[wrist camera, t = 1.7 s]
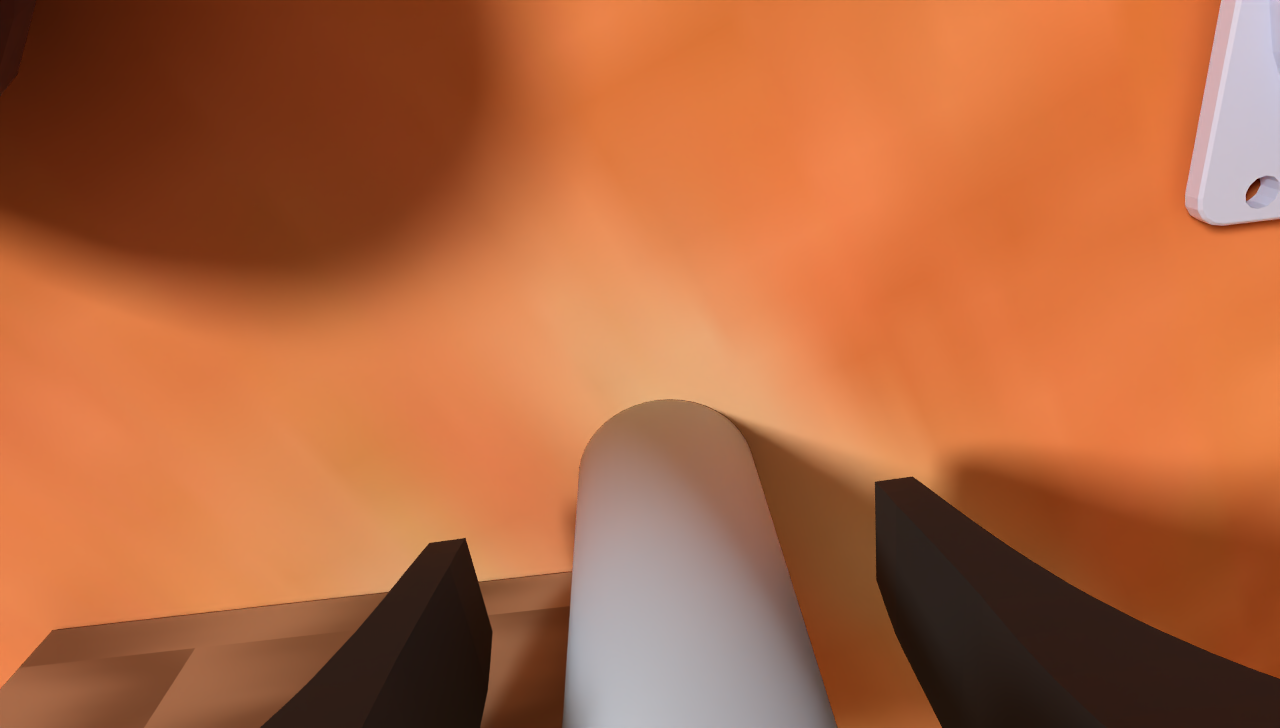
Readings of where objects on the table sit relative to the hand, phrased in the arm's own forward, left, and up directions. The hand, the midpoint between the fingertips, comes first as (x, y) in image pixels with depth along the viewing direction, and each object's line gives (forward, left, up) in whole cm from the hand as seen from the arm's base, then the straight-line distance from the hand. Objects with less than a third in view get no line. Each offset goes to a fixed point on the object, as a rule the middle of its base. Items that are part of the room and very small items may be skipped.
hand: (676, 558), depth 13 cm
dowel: (0, 0, -2) cm, 2 cm away
